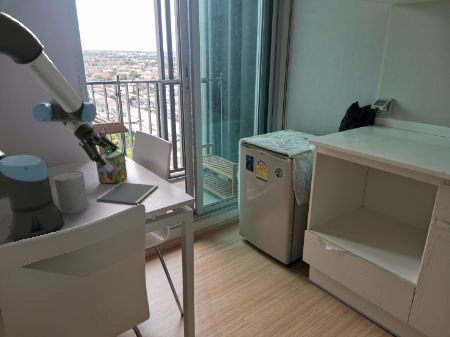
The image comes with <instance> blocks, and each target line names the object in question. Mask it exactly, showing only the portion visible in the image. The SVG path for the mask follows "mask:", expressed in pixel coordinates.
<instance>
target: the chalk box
mask: <svg viewBox="0 0 450 337" xmlns="http://www.w3.org/2000/svg"><path fill="white" fill-rule="evenodd" d="M103 149H104V152H101V153H99V154H100V156H101V157H104V158H105V159H106V160H107V161H108V162H109V163H110V164H111V165H112V166H113V167H114V169H113V170H112V171H111V172H109V171H108V170H107V169H106V168H105V167H104V166H102V165H101V164H100V163H99V162H98V161H97V162H95V165H96V170H97V171H96V172H97V178H98V183H102V184H103V183H105V184H119V183H120V182H123V180H125V179H126V178H127V177H128V172H127V171H128V170H127V164H126V163H127V161H126V162H125V159H126V156H125V152H122V151H121V152H120V151H118V152H112V150H111V147H110V146H107V147H106V148H103ZM107 149H109V150H110V151H108V150H107Z"/></svg>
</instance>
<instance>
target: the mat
mask: <svg viewBox="0 0 450 337" xmlns="http://www.w3.org/2000/svg"><path fill="white" fill-rule="evenodd" d="M158 188H159V186H158V185H157V184H145V183H133V182H132V183H131V182H123V181H120V182H119V183H116V184H115V185H114V186H113V187H111V188H110V189H108V190H107V191H105V192H104V193H103V194H101V195H100V196H98V197H97V198H96V199H95V200H96V202H105V203H106V202H107V203H114V204H124V205H132V206H133V205H134V206H137V205H136V204H138V205H139V204H141V203H142V202H143V201H144V200H145V199H146V198H148V197H149V195H151V194H152V193H153V192H154V191H156V190H157V189H158Z"/></svg>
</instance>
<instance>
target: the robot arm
mask: <svg viewBox="0 0 450 337" xmlns="http://www.w3.org/2000/svg"><path fill="white" fill-rule="evenodd" d="M0 55H3V56H5V57H8V58H10V59H11V61H13V62H14V63H15V64H17V65H19V66H20V65H21V66H22V67H23V68H24V69H25V70H26V71H27V72H28V73H29V75H31V77H32V78H33V79H34V80H35V81H36V82H37V83H38V84H39V85H40V86H41V87H42V88H43V90H45V91H46V92H47V94H48V95H49V96H50V97H51V98H52V99H51V100H49V102H44V101H43V102H42V101H41V102H37V103H35V104H34V105H33V107H32V109H31V110H32V111H31V113H32V117H33V118H34V120H35V121H37V122H39V123H45V124H46V123H61V124H62V125H64V126H65V127H66V128H67V129H68V130H69V131H70V132H71V133H72V134H73V135H74V136H75V138H77V140H79V142H78V145H79V146H80V147H81V148H82V149H83V151H84V152H85V153H86V154H87V156H88V158H89V159H90V160H91V161H92V162H95V163H96V162H97V161H98V162H99V163H100V164H101V165H102V166H104V167H105V168H106V169H107V170H108V171H109V172H111V171H112V170H113V169H114V167H113V166H112V165H111V164H110V163H109V162H108V161H107V160H106V159H105V158H104V157H101V156H100V154H101V153H100V151H99V149H98V148H97V147H101V148H102V149H104V148H106V147H107V146H110V147H111V150H112V152H119V151H118V148H119V146H118V145H117V144H115V143H114V142H112V141H111V140H110V139H109V138H108V137H106V136H105V135H104V134H103V133H102V132H99V133H95V131H94V128H93V127H92V126H91V124H89V123H91V122H93V121H95V120H96V119H97V118H96V117H97V108H96V106H95V104H93V103H92V102H87V101H86V102H85V101H83V99H82V98H81V97H80V96H79V95H78V93H77V91H75V89H74V88H73V87H72V85H71V84H70V83H69V82H68V81H67V79H66V78H65V77H64V75H63V74H62V73H61V72H60V70H59V69H58V68H57V66H55V64H54V62H52V61H51V59H50V58H49V57H48V56H47V54H46V53H45V52H44V45H43V44H42V43H41V41H40V40H39V39H38V38H37V36H36V34H34V33H33V32H32V31H31V30H30V29H29V28H27V26H25V25H24V24H23V23H21V22H20V21H19V20H17V19H16V18H14V17H12V16H11V15H9V14H8V13H6V12H3V11H1V10H0ZM107 152H110V150H109V149H107ZM127 160H128V159H127ZM127 160H126V158H125V162H126V163H127ZM46 165H47V164H46V162H45V161H44V159H42V158H41V157H39V156H37V155H36V156H35V155H31V154H20V155H10V156H6V154H5V152H3V151H2V150H1V149H0V200H3V201H4V200H5V201H6V200H7V202H8V206H9V209H10V223H9V226H8V233H9V237H10V239H12V240H14V241H15V242H17V241H16V240H22V239H27V238H32V237H36V236H40V235H44V234H48V233H51V232H56V231H58V232H59V231H60V230H62V229H63V228H64V226H65V219H64V216H63V213H62V212H61V211H60V208H59V207H58V206H57V205H56V203H55V201H54V196H53V192H52V187H51V186H52V185H51V182H50V177H49V170H48V168H47V166H46ZM56 233H57V232H56Z"/></svg>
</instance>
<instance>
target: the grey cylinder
mask: <svg viewBox="0 0 450 337" xmlns="http://www.w3.org/2000/svg"><path fill="white" fill-rule="evenodd" d="M84 176H85V175H84V172H83V171H80V170H70V171H65V172H64V171H63V172H61V173H58V174H56V175H55V176H53V181H54V185H55V190H56V191H55V192H56V195H57V200H58V205H59V211H60V213H61V214H76V213H79V212H82V211H86V210H87V209H88V208H89V206H90V204H89V199H88V192H87V187H86V181H85V177H84Z"/></svg>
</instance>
